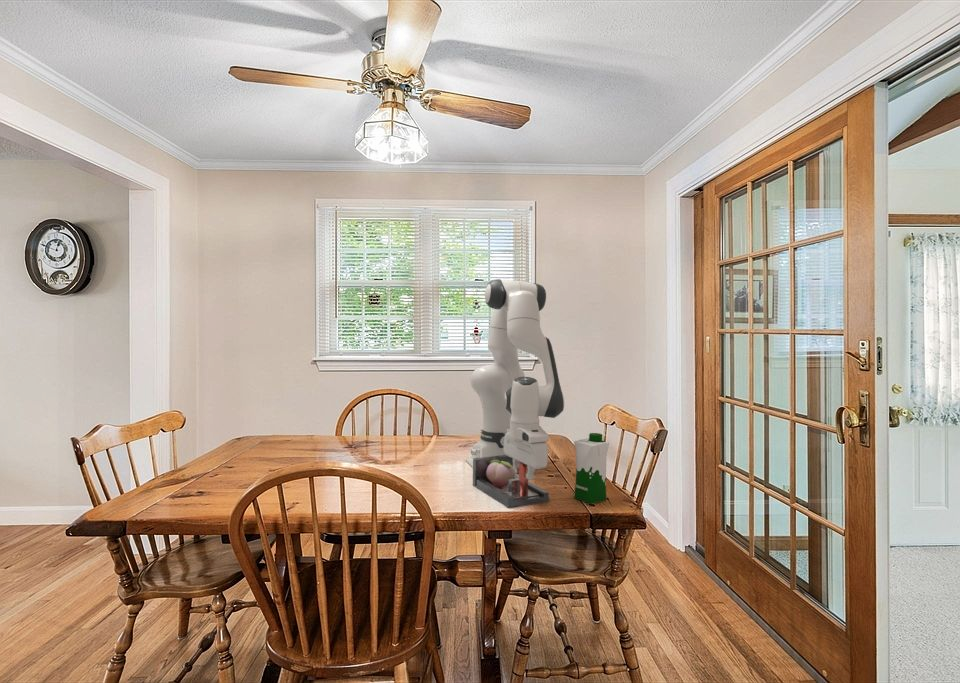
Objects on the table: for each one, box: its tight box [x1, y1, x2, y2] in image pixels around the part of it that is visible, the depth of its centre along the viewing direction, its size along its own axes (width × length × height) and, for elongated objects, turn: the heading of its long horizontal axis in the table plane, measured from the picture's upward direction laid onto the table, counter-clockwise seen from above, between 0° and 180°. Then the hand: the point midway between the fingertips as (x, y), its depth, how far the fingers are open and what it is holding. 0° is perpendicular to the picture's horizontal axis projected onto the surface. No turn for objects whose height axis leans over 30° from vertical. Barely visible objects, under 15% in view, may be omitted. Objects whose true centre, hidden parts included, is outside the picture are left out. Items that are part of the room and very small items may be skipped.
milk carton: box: [573, 432, 610, 505], centre depth 160 cm, size 9×9×20 cm
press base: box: [472, 455, 550, 509], centre depth 165 cm, size 24×14×9 cm, turn 26°
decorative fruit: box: [486, 458, 515, 489], centre depth 170 cm, size 9×8×10 cm
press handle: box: [506, 462, 540, 500], centre depth 159 cm, size 6×10×12 cm, turn 116°
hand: (523, 476), depth 157 cm, fingers open, 5 cm apart
